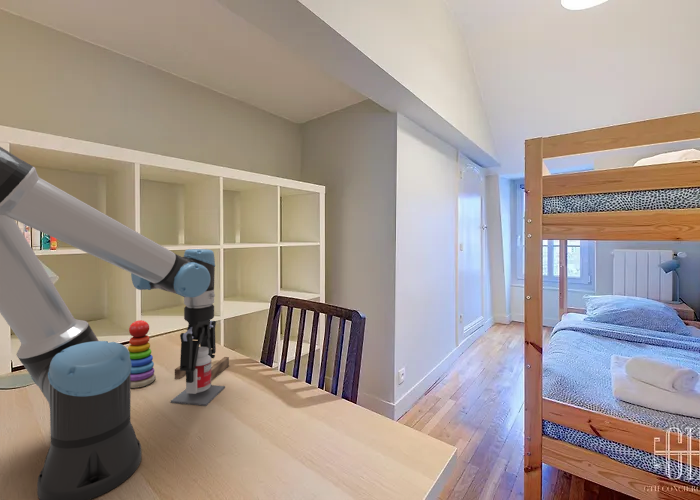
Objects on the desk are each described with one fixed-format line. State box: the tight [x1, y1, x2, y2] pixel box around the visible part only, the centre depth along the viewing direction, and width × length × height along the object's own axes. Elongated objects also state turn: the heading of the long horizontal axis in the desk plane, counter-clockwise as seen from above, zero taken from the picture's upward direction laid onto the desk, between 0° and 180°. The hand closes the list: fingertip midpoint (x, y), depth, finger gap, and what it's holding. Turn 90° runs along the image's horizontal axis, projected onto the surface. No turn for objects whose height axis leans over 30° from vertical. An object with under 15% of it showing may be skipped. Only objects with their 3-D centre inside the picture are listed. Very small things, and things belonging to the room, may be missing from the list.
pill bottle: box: [195, 346, 212, 393], centre depth 90 cm, size 6×6×11 cm
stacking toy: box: [127, 319, 157, 389], centre depth 96 cm, size 8×8×19 cm
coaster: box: [170, 384, 226, 407], centre depth 90 cm, size 10×10×1 cm
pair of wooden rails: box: [174, 356, 230, 381], centre depth 104 cm, size 12×12×3 cm
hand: (198, 386), depth 90 cm, fingers closed on pill bottle, 6 cm apart
